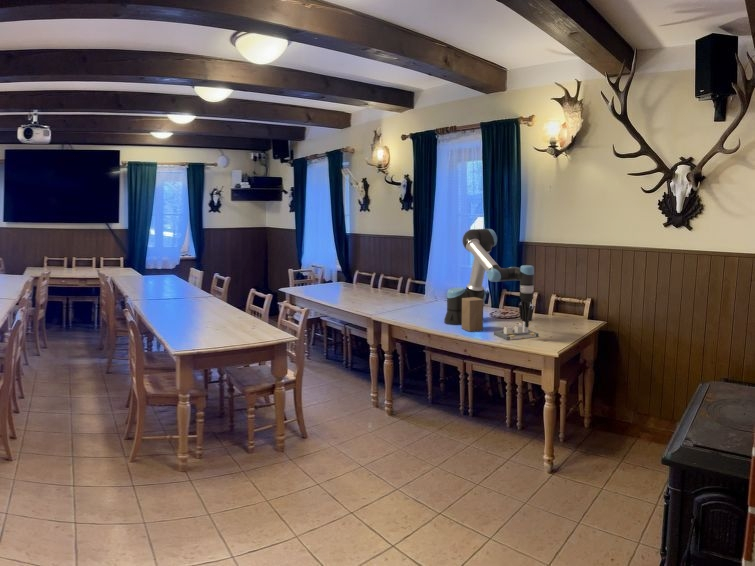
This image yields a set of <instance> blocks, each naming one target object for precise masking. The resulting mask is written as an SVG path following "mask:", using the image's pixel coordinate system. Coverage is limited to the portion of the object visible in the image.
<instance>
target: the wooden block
mask: <svg viewBox="0 0 755 566" xmlns="http://www.w3.org/2000/svg"><path fill="white" fill-rule="evenodd" d="M461 329H462V330H465V332H469V333H472V332H481V331H483V330H484V303H483V299H480V298H477V297H470V298H462V325H461Z"/></svg>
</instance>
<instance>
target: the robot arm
mask: <svg viewBox="0 0 755 566" xmlns="http://www.w3.org/2000/svg"><path fill="white" fill-rule="evenodd" d="M497 242H498V236H497V234H496V232H495V230H493V229H492V228H475V229H474V228H473V229H469V230H467V231H466V232H465V233H464V234H463V236H462V246H463V247H464V249H465V250H466V251H467V252H469V253H471V255H472V256H473V261H472V267H471V272H470V277H469V278H470V279H469V283H467V284H466V287H464V286H463V287H462V286H459V287H457V286H456V287H452V288H449V289H447V292H446V313H445V316H444V319H443V321H444V322H443V323H444V324H447V325H453V326H454V325H455V326H460V325H461V326H462V298H470V297H477V298H480V299H483V304H484V303H485V301H486V298H487V293H486V290H485V287H484V286H483V281H484V278H485V272H487V273H486V276H487V280H488V281H489V282H492V283H497V282H509V281H519V299H520V302H517V305H518V309H519V319H520V320H522V323H523V332H524V333H526V332H528V330H529V327H530V325H529V324H530V322H532V320H533V315H534V310H535V307H536V306H535V305H533V302H532V300H534V292H535V291H534V290H535V289H534V282H535V267H534V265H529V264H525V265H521V266H520V267H517V266H510V267H504V268H503V267H501V266H499V264H498V263H497V262H496V261H495V259H493V258H492V256H491V255H490V254H489V253H490V252H492V248H493V247H495V246H497V244H498V243H497Z"/></svg>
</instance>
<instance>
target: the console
mask: <svg viewBox="0 0 755 566" xmlns="http://www.w3.org/2000/svg"><path fill="white" fill-rule="evenodd" d="M493 336H495V337H497V338H501V339H503V340H505V341H513V340H519V339H520V340H521V339H530V338H538V337H539V333H538V332H535V331H533V330H530V329H528V332H526V333H524V332H523V333H520V334H517V333H515V328H514V329H513V331H512V334H507V335H506V334H504V330H498V331H493Z"/></svg>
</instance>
